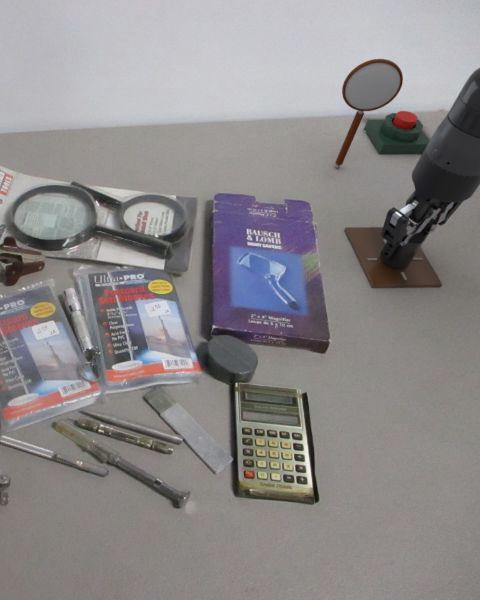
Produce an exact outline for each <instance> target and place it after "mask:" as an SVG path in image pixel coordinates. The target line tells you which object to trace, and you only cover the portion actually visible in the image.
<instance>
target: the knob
mask: <svg viewBox="0 0 480 600" xmlns="http://www.w3.org/2000/svg"><path fill="white" fill-rule="evenodd" d="M406 233H407V230H405V233H404V236H405V234H406ZM425 241H426V239H425V236H424V234H423V233H422V231H421V232H420V233H416V234H414V235H413V236H412V237H411V239H410V240H409V241H408V242H407V244H406V245H405V247H404V248H403V250H402V252H401V253H400V255H399V256H398V258H397V260H396V261H394V262H392V263H389V262H388V261H386V260H385V259H384V258H383V257H382V256H381V259H382V261H383V262H384V263H385V264H386V265H388V266H390V267H392V268H396V269H404V268H406V267H408V265H409V264H410V262H411V261H412V259H413V258H414V256H415V255H416V253H417V251H418V250H419V248H420V247H421V248H422V245H423V243H424V242H425Z"/></svg>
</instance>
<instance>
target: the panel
mask: <svg viewBox="0 0 480 600" xmlns="http://www.w3.org/2000/svg"><path fill="white" fill-rule="evenodd" d="M382 229H383V226H373V227H372V226H368V227H366V226H365V227H362V226H361V227H358V226H357V227H354V226H353V227H345V228H344V230H343V231H344V233H345V235H346V237H347V240H348V242H349V244H350V246H351V248H352V250H353V253H354V254H355V257H356V258H357V261H358V262H359V265H360V267H361V269H362V271H363V273H364V275H365V277H366V279H367V282H368V283H369V285H370V287H371V289H413V288H415V289H418V288H419V289H420V288H426V289H427V288H441V287H442V286H443V282H442V281H441V279H440V278H439V276H438V274H437V273H436V271H435V269H434V267H433V266H432V264H431V263H430V261H429V259H428V257H427V255H426V254H425V252H424V250H423V248H422V246H421V247H420V248H419V250H418V251H417V253H416V255H415V256H414V258H413V259H412V261H411V262H410V264H409V265H408V267H406V268H404V269H396V268H392V267H390V266H388V265H386V264H385V263H384V262H383V261H382V259H381V254H380V253H381V251H382V249H383V248H384V246H385V244H386V242H387V241H386V240H385V239H384V238H383V237H381V233H382Z"/></svg>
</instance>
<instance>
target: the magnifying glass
mask: <svg viewBox="0 0 480 600" xmlns="http://www.w3.org/2000/svg"><path fill="white" fill-rule="evenodd" d="M403 82H404V76H403V72H402V70H401V68H400V67H399V65H398V64H397V63H395V62H394V61H392V60H390V59H385V58H374V59H370V60H366V61H363V62H362V63H360V64H359V65H357V66H355V67H354V68H353V69H352V70H351V71H350V72H349V73H348V74H347V75H346V77H345V79H344V81H343V84H342V88H341V95H342V98H343V101H344V102H345V104H346V105H347V106H348V107H349V108H351V109H353V110H356V113H355V115H354V118H353V119H352V121H351V124H350V126H349V129H348V131H347V134H346V136H345V138H344V141H343V142H342V146H341V148H340V150H339V152H338V155H337V157H336V159H335V163H334V164H335V165H334V167H335V168H336V169H339V168H340V167H341V166H342V165H343V163H344V161H345V159H346V156H347V155H348V152H349V150H350V147H351V145H352V144H353V143H352V142H353V140H354V138H355V135H356V133H357V131H358V129H359V127H360V124H361V122H362V120H363V118H364V115H365V113H364V112H372V111H376V110H380V109H382V108H384V107H385V106H387V105H388V104H390V103H391V102H392V101H394V99H395V98H396V97H397V96H398V94H399V93H400V91H401V89H402V86H403Z"/></svg>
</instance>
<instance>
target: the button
mask: <svg viewBox="0 0 480 600" xmlns="http://www.w3.org/2000/svg"><path fill="white" fill-rule="evenodd" d="M396 113H397V114H396V116H395V118H394V120H393V124H394V125H395V126H397V127H398V128H401V129H405V130H411V129H413V127H414V125H415V123H416V121H417V119H418V116H417V115H416V114H415V113H413V112H411V111H407V110H400V111H397V112H396ZM418 120H419V119H418Z"/></svg>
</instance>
